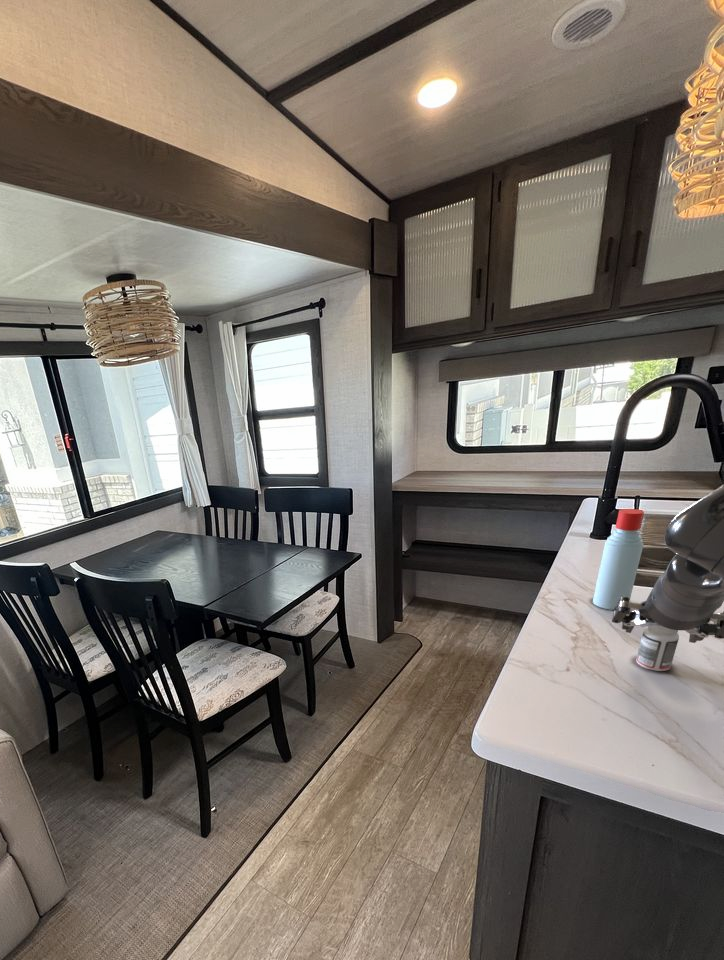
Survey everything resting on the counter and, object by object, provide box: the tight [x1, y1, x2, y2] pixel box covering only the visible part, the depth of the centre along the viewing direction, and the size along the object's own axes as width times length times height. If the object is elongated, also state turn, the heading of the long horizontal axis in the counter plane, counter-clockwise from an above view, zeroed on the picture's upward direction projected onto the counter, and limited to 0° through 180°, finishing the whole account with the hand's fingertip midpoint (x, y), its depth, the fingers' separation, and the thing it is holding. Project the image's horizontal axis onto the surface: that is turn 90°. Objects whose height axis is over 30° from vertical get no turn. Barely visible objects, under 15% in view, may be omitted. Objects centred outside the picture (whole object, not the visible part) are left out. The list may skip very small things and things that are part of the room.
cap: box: [615, 508, 645, 531], centre depth 94 cm, size 4×4×3 cm
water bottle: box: [592, 528, 644, 611], centre depth 98 cm, size 6×6×20 cm
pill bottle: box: [635, 625, 680, 672], centre depth 79 cm, size 5×5×8 cm
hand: (659, 632), depth 79 cm, fingers open, 8 cm apart
